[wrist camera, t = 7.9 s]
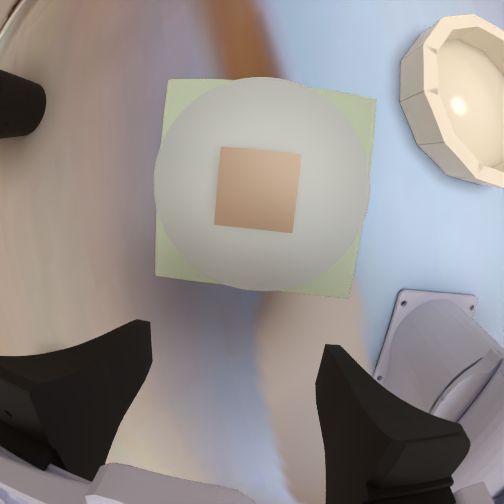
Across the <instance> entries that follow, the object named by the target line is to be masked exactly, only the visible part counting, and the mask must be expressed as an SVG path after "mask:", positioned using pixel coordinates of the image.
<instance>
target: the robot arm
mask: <svg viewBox="0 0 504 504" xmlns="http://www.w3.org/2000/svg"><path fill="white" fill-rule="evenodd" d="M404 300H405V303H404V304H402V305H401V302H402V301H404ZM477 302H478V298H477V297H476V296H474V295H465V294H452V293H440V292H428V291H417V290H402V291H401V292H400V293H399V295H398V298H397V302H396V306H395V309H394V313H393V317H392V320H391V323H390V327H389V330H388V333H387V337H386V340H385V343H384V346H383V349H382V352H381V355H380V358H379V361H378V364H377V367H376V369H375V372H374V375H373V378H372V377H371V376H370V375H369V374H368V373H367V372H366V371H365V370H364V369H363V368H362V367H361V366H360V365H359V364H358V363H357V362H356V361H355V360H354V359H353V358H352V357H351V356H350V355H349V354H348V353H347V352H346V351H345V350H344V349H343V348H342V347H341V346H340V345H329V344H325V348H324V353H323V356H322V360H321V364H320V368H319V372H318V376H317V379H316V383H315V385H316V404H317V410H318V415H319V421H320V426H321V431H322V437H323V442H324V449H325V464H326V504H504V349H503V348H502V347H501V346H500V345H499V344H498V343H497V342H496V341H495V340H494V339H493V338H492V337H491V336H490V335H489V334H488V333H487V332H486V331H485V330H484V329H483V328H482V327H480V326H479V325H478V324H477V323H476V322H475V321H474V320H473V319H472V317H473V314H474V311H475V308H476V305H477ZM471 305H472V307H471V308H470V306H471ZM152 362H153V361H152V347H151V330H150V322H148V321H143V320H138V319H136V320H134V321H131V322H129V323H127V324H125V325H123V326H121V327H119V328H116V329H114V330H112V331H110V332H108V333H106V334H104V335H102V336H99V337H97V338H95V339H92V340H90V341H87V342H85V343H82V344H80V345H77V346H74V347H70V348H67V349H64V350H59V351H55V352H50V353H45V354H38V355H29V356H0V504H255V501H254V500H253V499H252V498H250V497H249V496H247V495H245V494H243V493H242V492H240V491H238V490H235V489H231V488H227V487H223V486H219V485H213V484H207V483H201V482H195V481H190V480H185V479H181V478H176V477H171V476H167V475H163V474H159V473H155V472H151V471H147V470H144V469H140V468H137V467H133V466H130V465H124V464H118V463H109V464H106V465H105V462H106V459H107V456H108V453H109V450H110V448H111V445H112V442H113V439H114V437H115V435H116V432H117V430H118V427H119V425H120V423H121V421H122V419H123V417H124V415H125V413H126V412H127V410H128V408H129V407H130V405H131V403H132V401H133V400H134V398H135V396H136V395H137V393H138V391H139V390H140V388H141V386H142V385H143V383H144V381H145V379H146V377H147V374H148V372H149V369H150V367H151V364H152ZM378 376H381V377H379V378H377V377H378Z"/></svg>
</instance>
